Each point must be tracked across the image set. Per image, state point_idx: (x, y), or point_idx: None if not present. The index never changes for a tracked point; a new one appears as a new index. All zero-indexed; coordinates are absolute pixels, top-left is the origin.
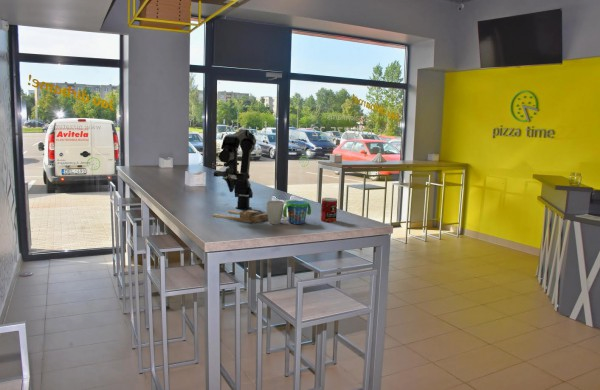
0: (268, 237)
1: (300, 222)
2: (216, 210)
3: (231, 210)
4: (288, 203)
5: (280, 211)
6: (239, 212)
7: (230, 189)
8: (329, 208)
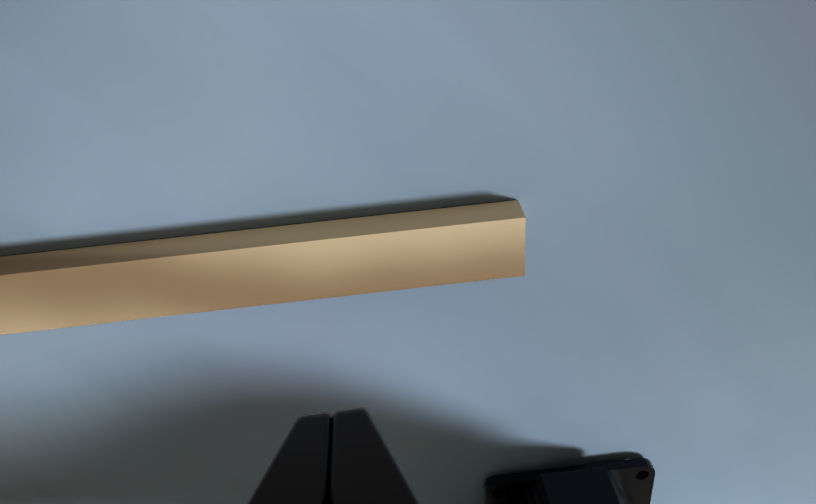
0: None
1: None
2: (799, 187)
3: (503, 272)
4: None
5: None
6: (276, 257)
7: (309, 481)
8: None
